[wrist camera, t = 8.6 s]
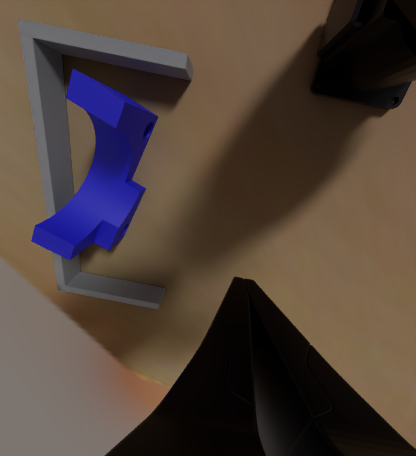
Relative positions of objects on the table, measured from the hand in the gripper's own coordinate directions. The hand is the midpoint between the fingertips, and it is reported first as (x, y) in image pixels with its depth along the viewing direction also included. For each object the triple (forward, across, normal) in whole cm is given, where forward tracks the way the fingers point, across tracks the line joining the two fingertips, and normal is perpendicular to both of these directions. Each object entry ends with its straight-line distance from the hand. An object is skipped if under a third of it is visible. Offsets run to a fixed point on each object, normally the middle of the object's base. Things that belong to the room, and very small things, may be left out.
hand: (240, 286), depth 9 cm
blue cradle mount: (+11, +10, -1) cm, 15 cm away
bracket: (+11, +10, +1) cm, 15 cm away
